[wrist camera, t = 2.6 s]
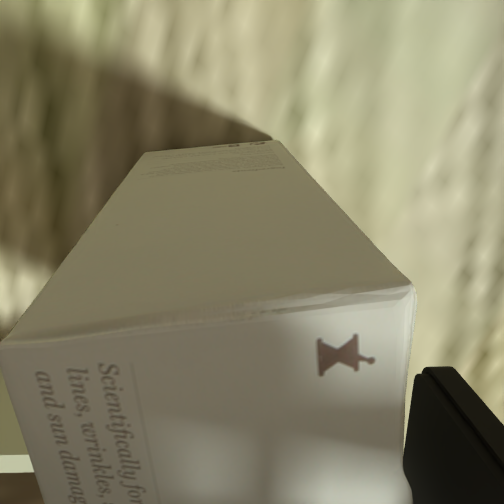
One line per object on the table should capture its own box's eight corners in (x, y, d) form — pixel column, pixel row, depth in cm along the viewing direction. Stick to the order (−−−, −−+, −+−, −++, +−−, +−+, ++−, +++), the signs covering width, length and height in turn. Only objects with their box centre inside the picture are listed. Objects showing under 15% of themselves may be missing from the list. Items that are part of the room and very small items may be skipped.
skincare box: (143, 150, 20) (-55, 311, 6) (288, 136, 20) (433, 262, 6) (171, 330, 23) (84, 729, 9) (299, 317, 23) (414, 691, 9)
